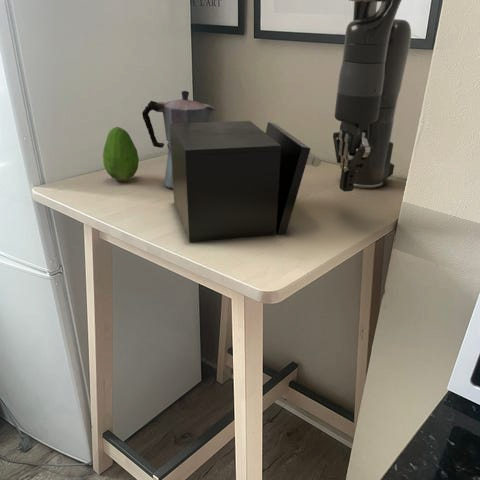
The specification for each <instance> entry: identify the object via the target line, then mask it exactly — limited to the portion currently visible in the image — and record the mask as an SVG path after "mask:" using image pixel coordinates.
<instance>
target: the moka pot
mask: <svg viewBox="0 0 480 480" xmlns="http://www.w3.org/2000/svg"><path fill="white" fill-rule="evenodd" d="M189 95H190V92H189V91H188V90H182V91H181V97H182V98H181V99H176V100H170V101H166V102H164V101H158V102H157V101H155V100H150V101H149V102H148V103H147V105H146V106H145V107H144V109H143V110H142V113H141V115H142V119H143V121H144V124H145V127H146V129H147V131H148V135H149V138H150V140H151V144H152V146H153V147H154V148H159V149H161V148H164V147H165V146H164V145H165V143H164V142H159V141H158V140H157V137H156V135H155V131H154V128H153V123H152V121H151V118H150V116H149V114H150V112H152V111H154V112H156V113H162V116H163V124H164V129H165V130H164V132H165V138H166V141H167V142H168V143H166V146H167V149H168V152H167V157H166V167H165V175H164V181H163V184H164V186H166V187H167V188H169V189H172V190H173V174H172V157H171V140H170V124H177V123H205V122H209V121H210V119H211V116H212V114H213V112H214V111H216V108H214V107H213V106H212V105H211V104H207V103H201V102H198V101H195V100H192V99H189Z"/></svg>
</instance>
